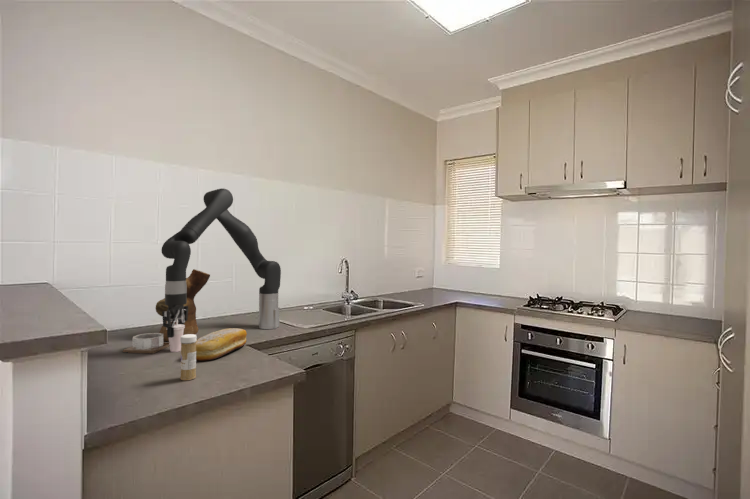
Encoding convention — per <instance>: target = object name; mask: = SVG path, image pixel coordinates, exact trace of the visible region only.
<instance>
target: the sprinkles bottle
mask: <svg viewBox="0 0 750 499" xmlns="http://www.w3.org/2000/svg"><path fill="white" fill-rule="evenodd" d="M197 339H198V336H197V334H196V335H195V334H186V335H182V336H181V338H180V342H181V351H180V376H179V377H180V378H179V379H180V380H181V381H190V380H194V379H196V378H197V374H196V372H197V371H196V370H197V360H196V341H197Z"/></svg>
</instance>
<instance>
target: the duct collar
mask: <svg viewBox="0 0 750 499" xmlns="http://www.w3.org/2000/svg"><path fill="white" fill-rule="evenodd" d="M131 341H132V343H131V344H132V346H128V347H126V348H124V349H122V353H123V352H128V354H129V353H130V354H156V353H158V352H160V351H163V350H164V349H167V348H170V345H169V342H166V341H163V334H161V333H159V332H152V333H151V332H148V333H146V332H145V333H140V334H137V335H133V336H132V340H131Z"/></svg>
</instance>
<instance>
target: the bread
mask: <svg viewBox="0 0 750 499" xmlns="http://www.w3.org/2000/svg"><path fill="white" fill-rule="evenodd" d="M247 335H248V333H247V330H245V329H243V328H237V327H235V328H233V327H232V328H229V327H228V328H222V329H219V330H217V331H212V332H210V333H207V334H205V335H203V336H201V337H199V338H197V341H196V362H205V361H206V362H207V361H212V360H216V359H218V358H221V357H223V356H225V355H227V354H230V353H232V352H235V351H237V350H239V349H240V348H241V349H242V348H243V346H245V344H246V343H247Z"/></svg>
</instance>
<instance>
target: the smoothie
mask: <svg viewBox="0 0 750 499" xmlns="http://www.w3.org/2000/svg"><path fill="white" fill-rule="evenodd" d="M184 328H185V325H183V324H178V318H177V321H176V324H174V337H172V338H169V337H168V338H169V342H168V343H169V345H170V346H169V351H170V352H171V353H177V352H181V342H180V338H181V336H182V335H183V332H184Z"/></svg>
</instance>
